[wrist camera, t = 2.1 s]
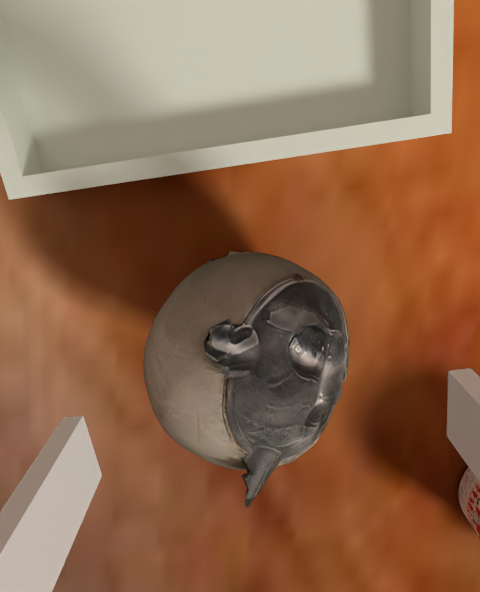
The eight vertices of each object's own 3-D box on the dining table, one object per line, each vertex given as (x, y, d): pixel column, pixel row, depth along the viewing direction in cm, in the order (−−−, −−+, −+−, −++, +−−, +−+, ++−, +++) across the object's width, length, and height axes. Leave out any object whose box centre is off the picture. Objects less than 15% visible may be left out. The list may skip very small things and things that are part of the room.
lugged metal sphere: (353, 331, 28) (273, 195, 24) (439, 461, 16) (311, 239, 13) (224, 403, 29) (134, 284, 26) (221, 565, 18) (62, 391, 15)
